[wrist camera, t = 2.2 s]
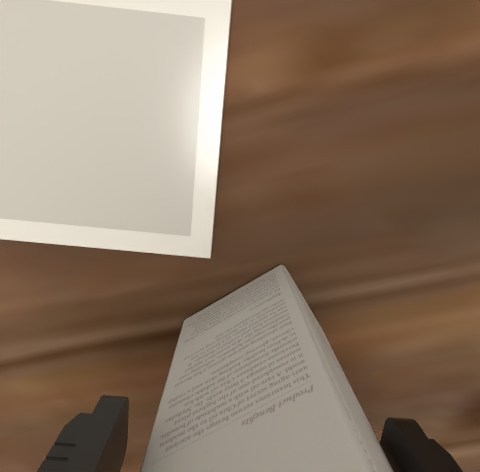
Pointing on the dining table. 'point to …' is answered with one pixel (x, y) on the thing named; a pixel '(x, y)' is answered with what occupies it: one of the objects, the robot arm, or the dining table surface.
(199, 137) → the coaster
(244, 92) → the dining table surface
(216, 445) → the skincare box
